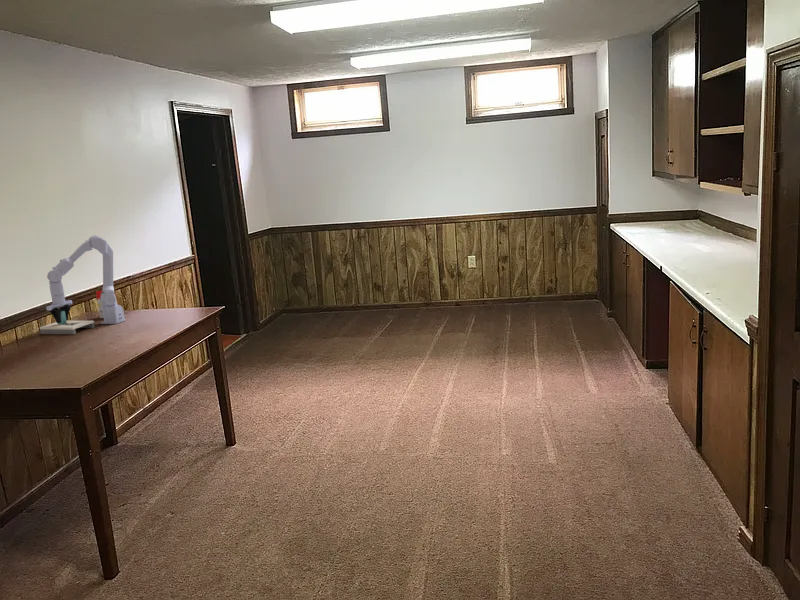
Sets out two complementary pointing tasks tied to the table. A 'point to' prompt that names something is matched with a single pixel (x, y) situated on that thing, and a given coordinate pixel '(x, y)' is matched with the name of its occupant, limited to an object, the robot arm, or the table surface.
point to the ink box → (100, 303)
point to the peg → (63, 318)
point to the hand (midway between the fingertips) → (62, 321)
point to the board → (66, 327)
